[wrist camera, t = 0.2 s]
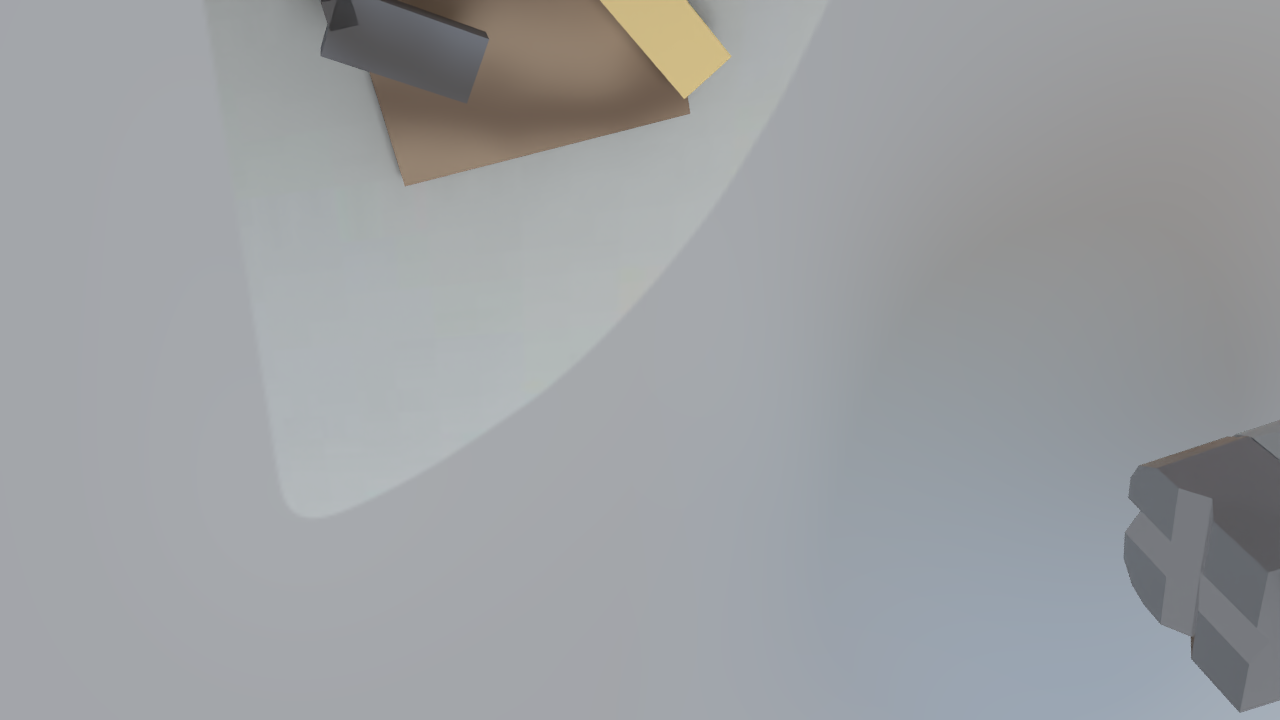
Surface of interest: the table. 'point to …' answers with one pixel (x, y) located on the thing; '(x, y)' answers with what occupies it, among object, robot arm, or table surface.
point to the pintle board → (496, 77)
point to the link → (672, 39)
